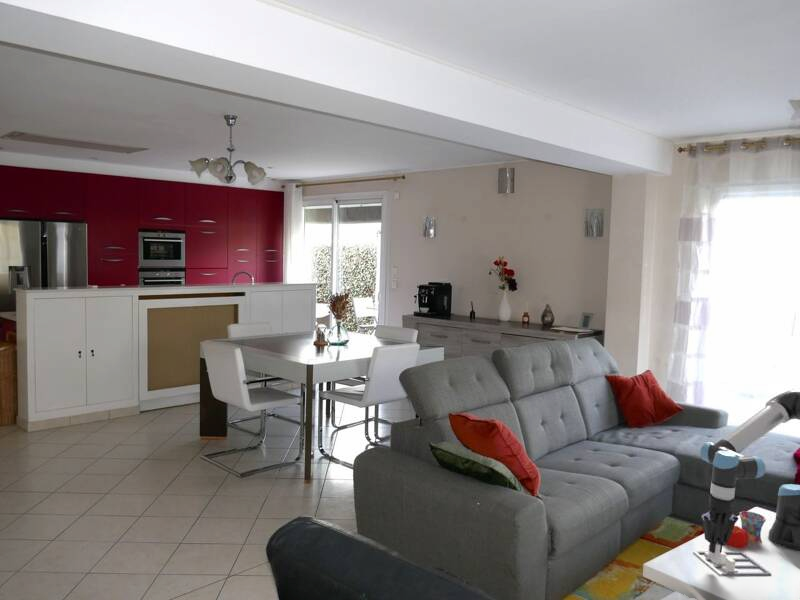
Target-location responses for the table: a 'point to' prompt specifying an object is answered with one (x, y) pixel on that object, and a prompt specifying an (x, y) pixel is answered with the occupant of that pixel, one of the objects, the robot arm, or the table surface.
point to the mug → (752, 525)
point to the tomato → (738, 538)
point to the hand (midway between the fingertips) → (714, 561)
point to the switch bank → (735, 565)
